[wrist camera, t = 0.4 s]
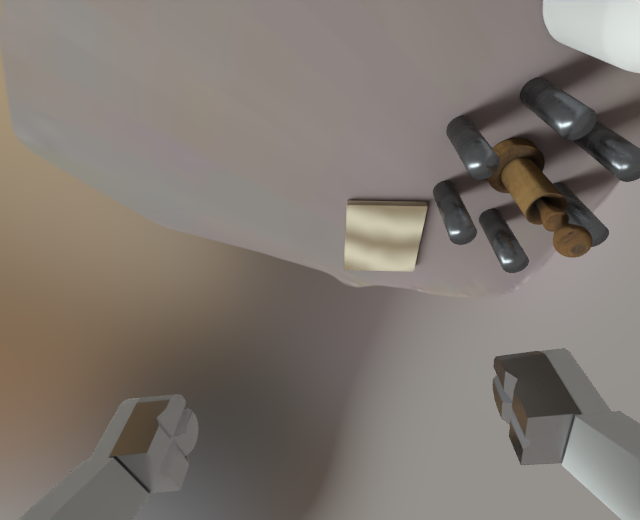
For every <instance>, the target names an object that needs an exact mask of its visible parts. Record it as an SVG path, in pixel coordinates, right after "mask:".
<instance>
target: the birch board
mask: <svg viewBox="0 0 640 520" xmlns="http://www.w3.org/2000/svg"><path fill="white" fill-rule="evenodd" d="M427 207H428V206H427V203H426V202H410V201H350V200H347V213H346V234H345V255H344V270H375V271H414V268H415V263H416V258H417V254H418V249H419V244H420V240H421V235H422V230H423V226H424V221H425V217H426V212H427Z"/></svg>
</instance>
